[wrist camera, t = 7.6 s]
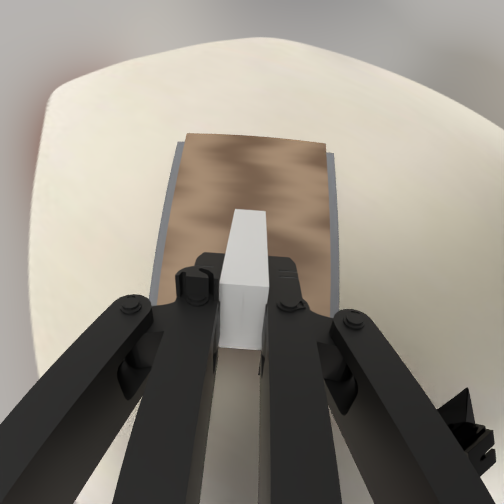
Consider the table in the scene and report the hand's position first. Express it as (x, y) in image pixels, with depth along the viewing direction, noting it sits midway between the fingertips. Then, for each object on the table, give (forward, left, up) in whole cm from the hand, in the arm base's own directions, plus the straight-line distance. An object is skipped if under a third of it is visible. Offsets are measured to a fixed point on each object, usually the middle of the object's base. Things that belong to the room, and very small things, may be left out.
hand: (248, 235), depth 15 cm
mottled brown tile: (+2, +5, -4) cm, 7 cm away
